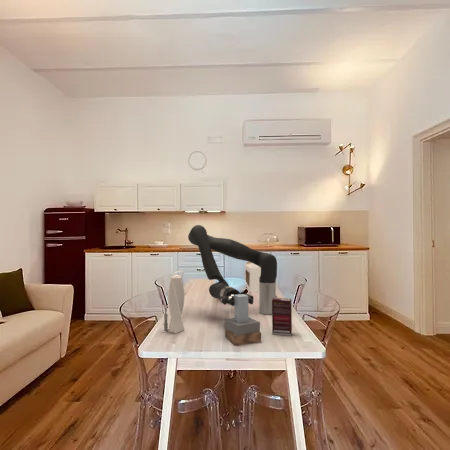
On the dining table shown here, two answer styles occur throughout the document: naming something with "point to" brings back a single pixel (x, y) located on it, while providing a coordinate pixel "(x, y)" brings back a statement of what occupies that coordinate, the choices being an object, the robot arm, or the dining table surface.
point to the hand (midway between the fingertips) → (243, 302)
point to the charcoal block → (242, 326)
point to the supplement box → (281, 316)
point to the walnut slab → (243, 338)
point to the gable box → (252, 276)
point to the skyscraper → (175, 305)
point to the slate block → (241, 308)
